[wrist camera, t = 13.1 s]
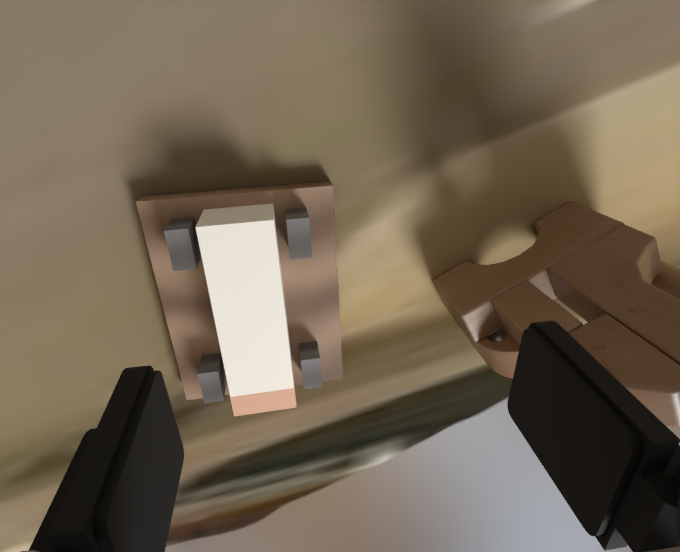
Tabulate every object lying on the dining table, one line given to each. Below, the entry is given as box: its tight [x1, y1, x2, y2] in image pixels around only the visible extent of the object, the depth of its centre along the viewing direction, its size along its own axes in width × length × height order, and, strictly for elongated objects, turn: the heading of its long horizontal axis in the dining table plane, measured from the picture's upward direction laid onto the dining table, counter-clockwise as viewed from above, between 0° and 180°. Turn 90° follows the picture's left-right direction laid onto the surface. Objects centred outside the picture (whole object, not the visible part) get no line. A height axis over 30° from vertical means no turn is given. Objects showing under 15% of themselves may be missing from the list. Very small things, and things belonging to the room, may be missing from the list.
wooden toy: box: [433, 202, 680, 427], centre depth 28 cm, size 15×7×25 cm, turn 120°
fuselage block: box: [195, 203, 296, 416], centre depth 33 cm, size 16×5×4 cm, turn 3°
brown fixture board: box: [136, 181, 343, 403], centre depth 34 cm, size 18×14×4 cm
